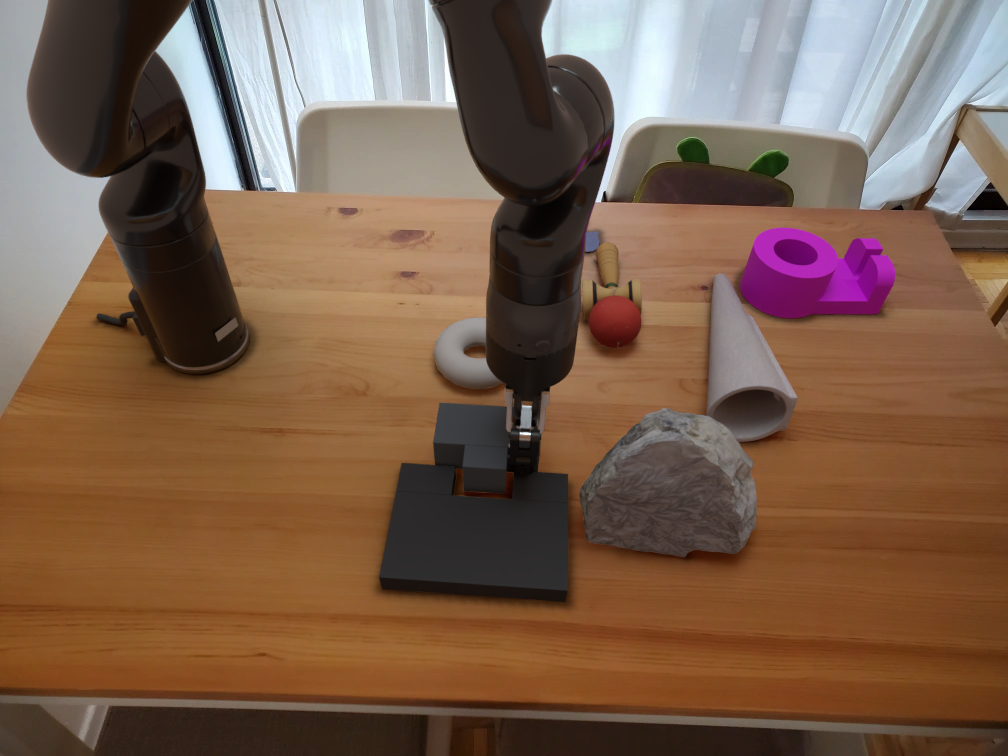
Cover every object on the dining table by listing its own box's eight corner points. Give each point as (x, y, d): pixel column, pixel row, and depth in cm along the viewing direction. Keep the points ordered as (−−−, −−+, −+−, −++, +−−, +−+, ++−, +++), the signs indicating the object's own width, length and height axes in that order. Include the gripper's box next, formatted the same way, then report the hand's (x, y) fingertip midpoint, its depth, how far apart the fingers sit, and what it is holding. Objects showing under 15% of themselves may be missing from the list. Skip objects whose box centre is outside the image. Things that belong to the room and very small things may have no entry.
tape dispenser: (751, 318, 88) (766, 278, 83) (731, 267, 94) (744, 227, 90) (879, 318, 88) (902, 278, 84) (851, 267, 95) (870, 228, 90)
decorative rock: (572, 548, 66) (591, 447, 55) (577, 487, 70) (596, 384, 59) (754, 573, 64) (811, 475, 53) (747, 510, 69) (798, 408, 58)
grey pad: (431, 489, 68) (429, 464, 65) (441, 427, 73) (439, 401, 70) (537, 496, 68) (539, 471, 65) (539, 434, 73) (541, 408, 70)
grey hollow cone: (664, 249, 89) (714, 386, 69) (734, 248, 89) (803, 385, 70) (655, 301, 94) (700, 442, 74) (721, 300, 94) (783, 441, 75)
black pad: (381, 589, 62) (378, 577, 61) (403, 475, 71) (401, 462, 69) (565, 602, 62) (567, 590, 60) (566, 486, 70) (568, 473, 69)
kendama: (569, 269, 95) (574, 351, 81) (582, 226, 91) (590, 305, 77) (625, 280, 96) (640, 363, 82) (640, 239, 92) (659, 319, 78)
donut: (423, 388, 79) (513, 402, 77) (421, 366, 76) (514, 380, 75) (446, 327, 85) (529, 339, 84) (445, 305, 83) (530, 317, 82)
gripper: (492, 261, 63) (490, 391, 76) (478, 381, 53) (478, 507, 66) (578, 266, 63) (561, 395, 75) (579, 388, 53) (560, 513, 66)
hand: (523, 447), depth 70 cm, fingers closed on grey pad, 5 cm apart
